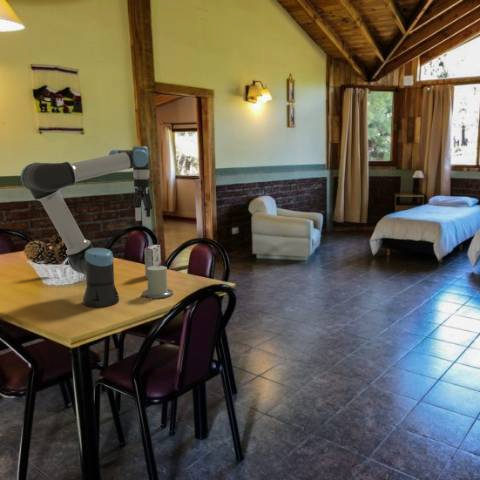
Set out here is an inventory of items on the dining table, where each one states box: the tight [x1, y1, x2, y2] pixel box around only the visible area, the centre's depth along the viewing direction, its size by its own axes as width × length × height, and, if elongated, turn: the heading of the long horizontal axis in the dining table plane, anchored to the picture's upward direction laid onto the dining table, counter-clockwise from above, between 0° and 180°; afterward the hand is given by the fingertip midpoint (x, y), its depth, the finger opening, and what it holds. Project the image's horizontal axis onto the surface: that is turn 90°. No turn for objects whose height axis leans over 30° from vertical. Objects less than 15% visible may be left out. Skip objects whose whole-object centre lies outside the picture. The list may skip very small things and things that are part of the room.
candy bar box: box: [143, 244, 162, 280], centre depth 251 cm, size 11×5×16 cm, turn 167°
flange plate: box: [141, 288, 174, 300], centre depth 218 cm, size 14×14×1 cm
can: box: [147, 265, 168, 295], centre depth 216 cm, size 9×9×12 cm
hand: (143, 222), depth 230 cm, fingers open, 13 cm apart
